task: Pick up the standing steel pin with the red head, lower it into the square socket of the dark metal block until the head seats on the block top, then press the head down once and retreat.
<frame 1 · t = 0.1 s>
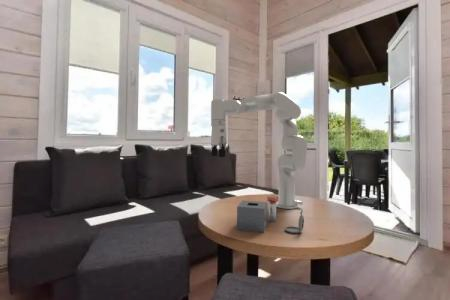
hand: (218, 156, 131), 31 cm above the table, tool pointing down, fingers open, 9 cm apart
lynch pin: (272, 220, 125), on the table
pocket watch: (295, 232, 109), on the table
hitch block: (252, 226, 115), on the table
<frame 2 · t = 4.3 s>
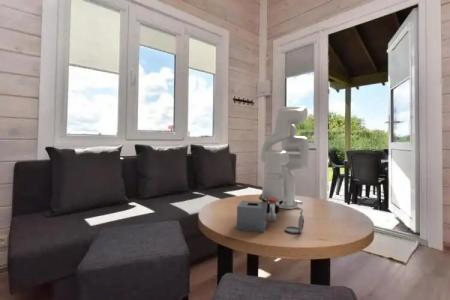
hand: (272, 212, 124), 4 cm above the table, tool pointing down, fingers closed on lynch pin, 3 cm apart
lynch pin: (272, 220, 125), on the table, touching gripper
everything else where it was.
when the fingers open (11 cm above the table, at t = 9.0 s): lynch pin drops 7 cm, resting on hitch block.
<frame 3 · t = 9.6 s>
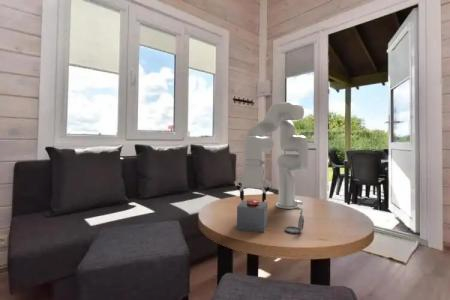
hand: (252, 200, 115), 12 cm above the table, tool pointing down, fingers open, 9 cm apart
lynch pin: (252, 225, 115), resting on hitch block
everything else where it was.
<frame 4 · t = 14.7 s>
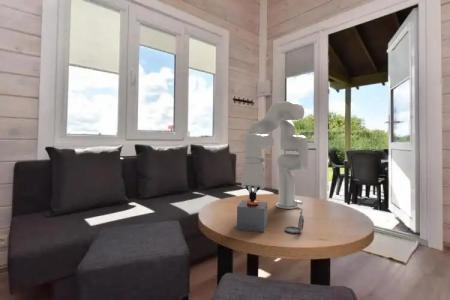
hand: (252, 200, 115), 12 cm above the table, tool pointing down, fingers closed
lynch pin: (252, 225, 115), resting on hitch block, touching gripper
everything else where it was.
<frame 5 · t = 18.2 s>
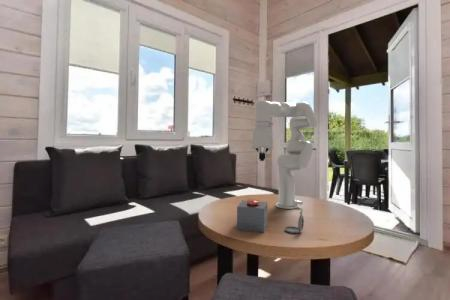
hand: (262, 160, 130), 29 cm above the table, tool pointing down, fingers closed
lynch pin: (252, 225, 115), resting on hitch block
everything else where it was.
at the end: lynch pin 0.1 cm off-centre on the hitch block, point 0.4 cm above the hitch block's base; lynch pin tilted 0°; the gripper is holding nothing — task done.
